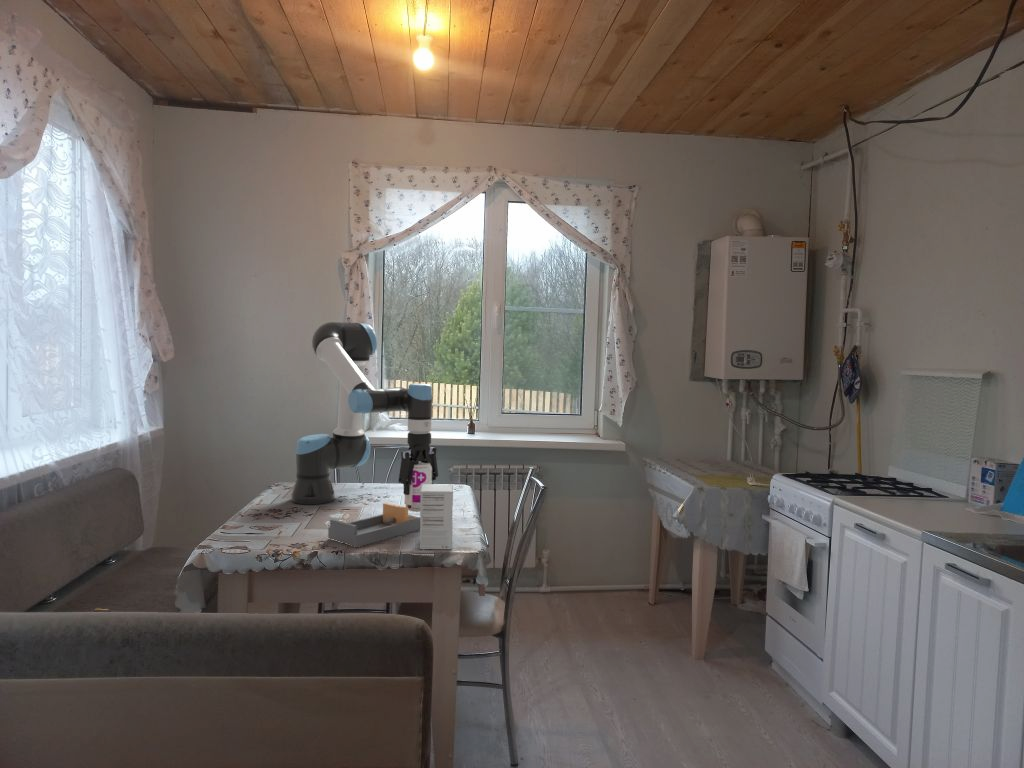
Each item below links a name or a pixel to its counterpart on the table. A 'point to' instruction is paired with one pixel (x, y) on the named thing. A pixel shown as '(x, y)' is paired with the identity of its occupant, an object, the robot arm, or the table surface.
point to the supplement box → (436, 516)
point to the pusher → (394, 514)
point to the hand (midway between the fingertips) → (418, 501)
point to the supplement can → (419, 483)
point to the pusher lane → (370, 530)
